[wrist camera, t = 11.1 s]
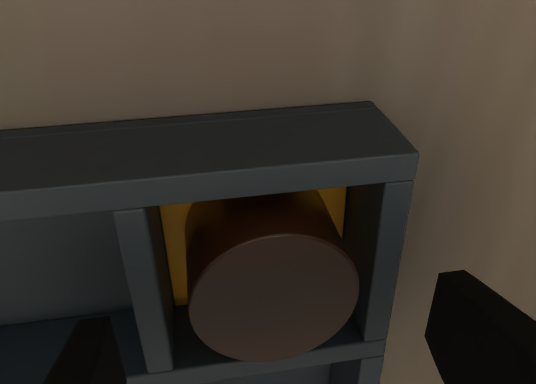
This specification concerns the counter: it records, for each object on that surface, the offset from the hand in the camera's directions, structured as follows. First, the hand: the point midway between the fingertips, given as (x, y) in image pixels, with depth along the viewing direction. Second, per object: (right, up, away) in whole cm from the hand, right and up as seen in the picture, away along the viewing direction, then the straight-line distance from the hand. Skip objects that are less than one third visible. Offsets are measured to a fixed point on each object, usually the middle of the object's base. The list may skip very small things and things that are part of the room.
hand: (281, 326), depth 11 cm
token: (-1, +2, +3) cm, 4 cm away
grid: (-4, -1, +5) cm, 6 cm away
